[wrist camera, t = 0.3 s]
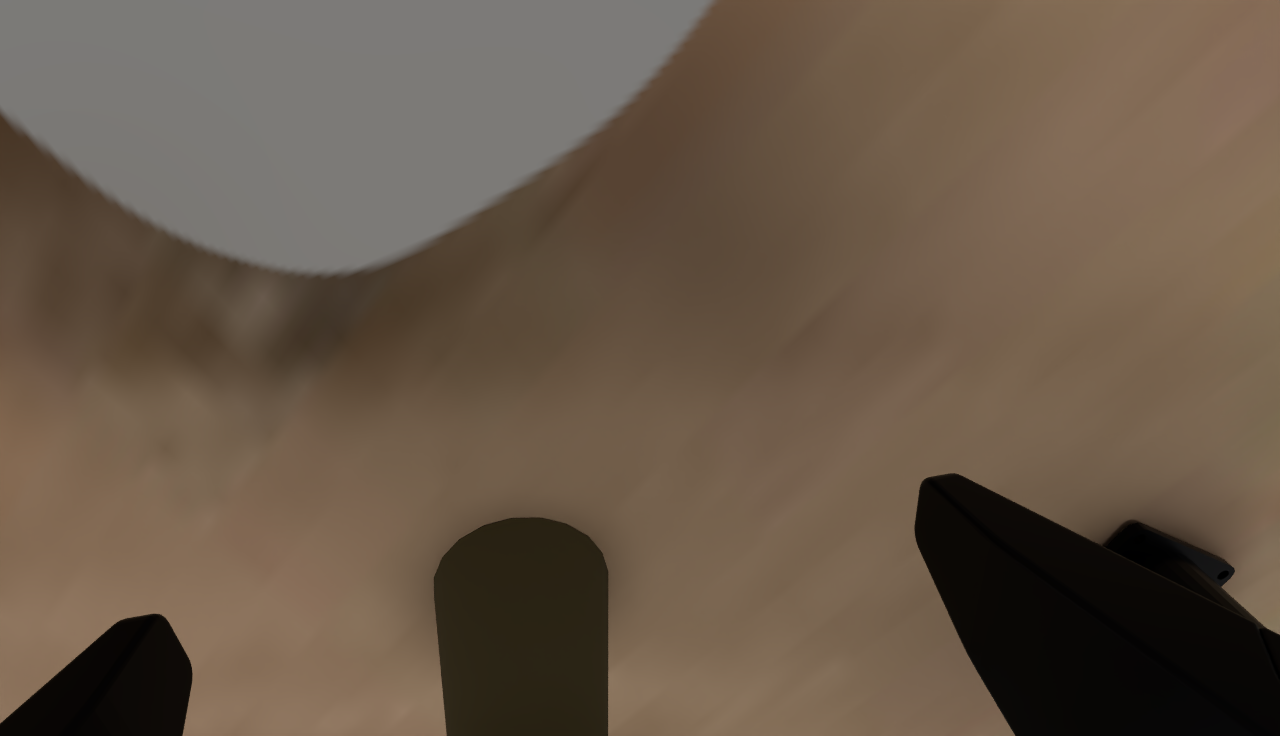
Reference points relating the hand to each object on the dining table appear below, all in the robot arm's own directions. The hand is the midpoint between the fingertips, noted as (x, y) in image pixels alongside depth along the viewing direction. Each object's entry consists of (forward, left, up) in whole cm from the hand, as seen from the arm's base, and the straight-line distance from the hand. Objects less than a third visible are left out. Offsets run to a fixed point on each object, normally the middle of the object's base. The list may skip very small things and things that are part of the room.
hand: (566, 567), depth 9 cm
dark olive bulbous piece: (-5, +12, -14) cm, 19 cm away
